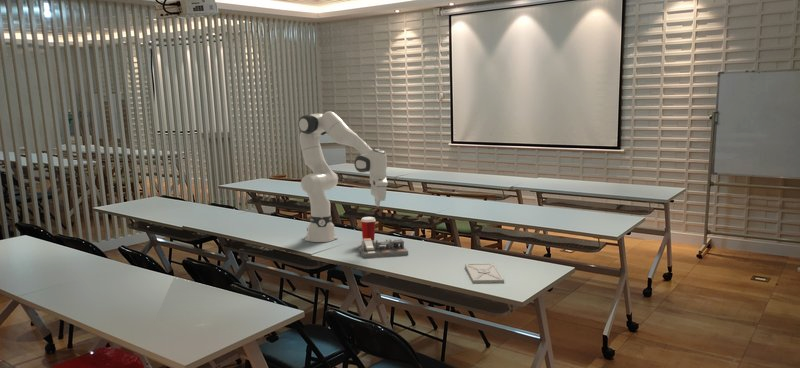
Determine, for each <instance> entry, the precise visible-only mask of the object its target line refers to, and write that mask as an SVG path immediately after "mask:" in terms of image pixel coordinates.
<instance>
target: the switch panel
mask: <svg viewBox="0 0 800 368" xmlns="http://www.w3.org/2000/svg"><path fill="white" fill-rule="evenodd" d="M385 241H388V243H389V244H386V245H379V241H378V240H377V239H376V240H375V239H374V240H372V243H373V246H374V250H366V247H365V243H364V242H363V240H362V241H361V247H359V252H360V254H361V255H362V257H363V258H364V259H367V258H368V259H369V258H370V259H371V258H384V257H397V256H400V257H401V256H408V255H409V250H408V249H407V248H406V247H405V241H404V240H403V239H402V243H400V244H399V245H394V242H393V241H394V240H392V239H391V238H389V240H388V239H385Z"/></svg>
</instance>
